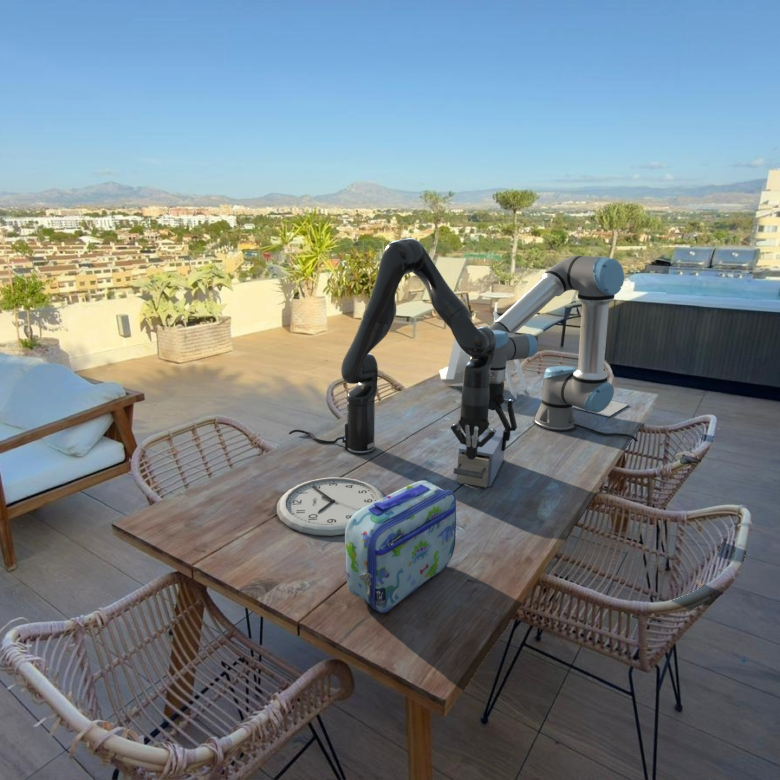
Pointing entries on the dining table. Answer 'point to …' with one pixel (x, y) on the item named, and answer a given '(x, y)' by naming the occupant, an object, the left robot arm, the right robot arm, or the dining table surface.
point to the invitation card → (609, 408)
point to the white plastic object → (460, 359)
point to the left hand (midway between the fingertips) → (471, 458)
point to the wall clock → (325, 504)
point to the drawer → (472, 470)
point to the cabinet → (490, 453)
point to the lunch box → (399, 543)
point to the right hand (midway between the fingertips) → (486, 446)
